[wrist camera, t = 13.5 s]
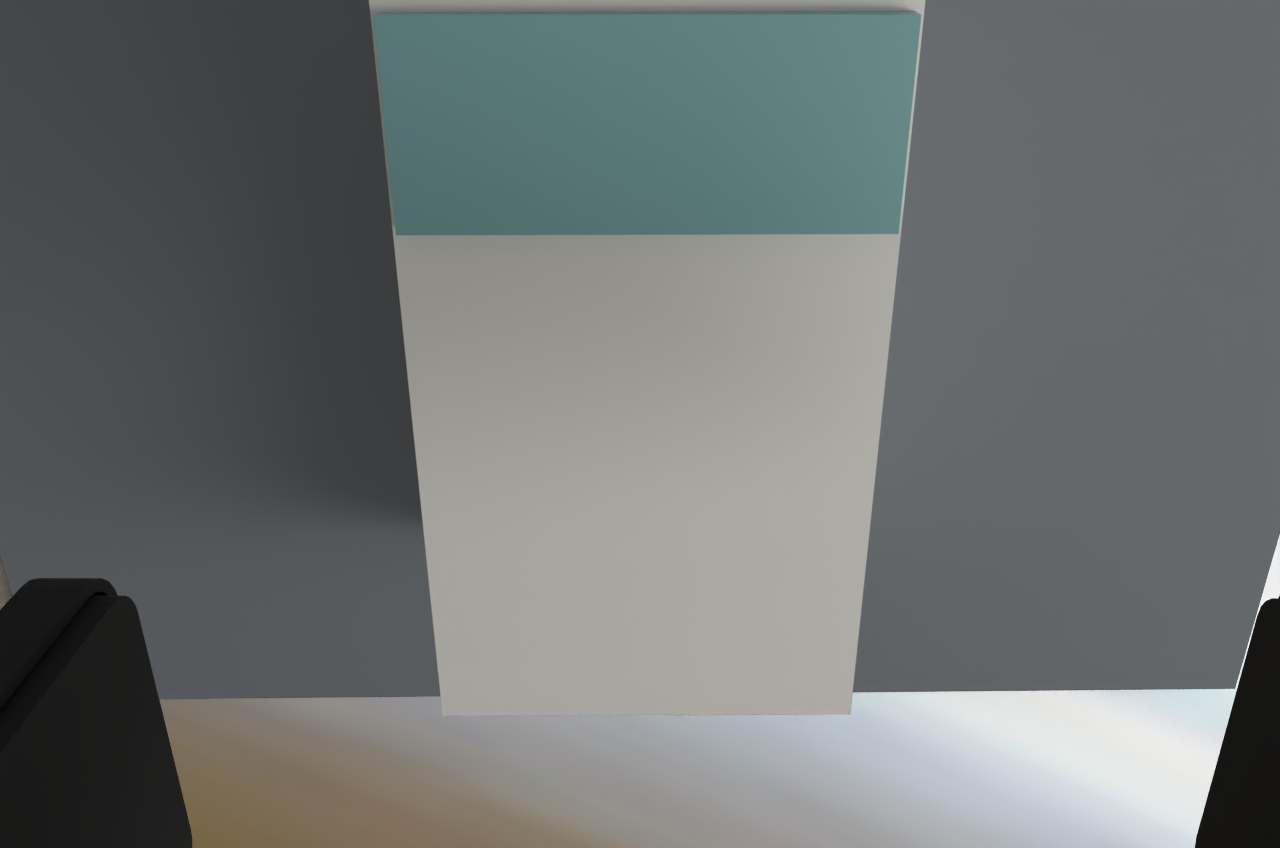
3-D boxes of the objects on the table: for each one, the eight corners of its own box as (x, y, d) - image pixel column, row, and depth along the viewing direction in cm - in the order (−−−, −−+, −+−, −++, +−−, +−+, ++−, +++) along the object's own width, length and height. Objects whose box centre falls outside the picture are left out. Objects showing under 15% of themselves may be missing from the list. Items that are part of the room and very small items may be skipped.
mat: (1527, -395, 15) (1548, -401, 15) (1225, 675, 23) (1235, 688, 23) (-273, -378, 15) (-295, -383, 15) (54, 687, 23) (45, 700, 23)
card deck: (805, 532, 21) (854, 728, 16) (483, 533, 21) (439, 730, 16) (848, -47, 17) (932, -5, 12) (439, -46, 17) (361, -5, 12)
